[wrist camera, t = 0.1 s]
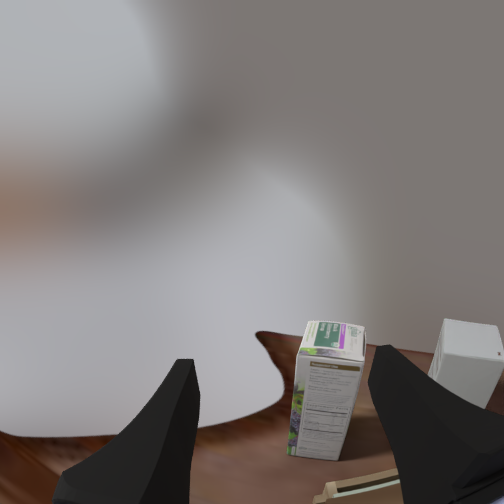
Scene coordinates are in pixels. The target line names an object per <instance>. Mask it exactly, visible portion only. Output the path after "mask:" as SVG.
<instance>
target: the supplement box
mask: <svg viewBox="0 0 504 504" xmlns="http://www.w3.org/2000/svg"><path fill="white" fill-rule="evenodd" d="M503 369H504V349H503V345H502V341H501V338H500V334H499V331H498V328H497V326H495V325H486V324H479V323H471V322H465V321H458V320H452V319H446V318H445V319H444V322H443V325H442V329H441V333H440V337H439V340H438V344H437V347H436V351H435V354H434V358H433V361H432V364H431V367H430V370H429V373H428V376H429V377H431V378H432V379H433V380H435V381H436V382H437V383H439V384H440V385H442V386H443V387H445V388H446V389H448V390H449V391H451V392H452V393H454V394H456V395H457V396H459V397H461V398H463V399H464V400H466V401H468V402H470V403H472V404H475V405H477V406H479V407H481V408H483V409H485V407H486V405H487V403H488V401H489V399H490V397H491V395H492V393H493V391H494V389H495V387H496V385H497V383H498V380H499V378H500V376H501V374H502V372H503Z"/></svg>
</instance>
